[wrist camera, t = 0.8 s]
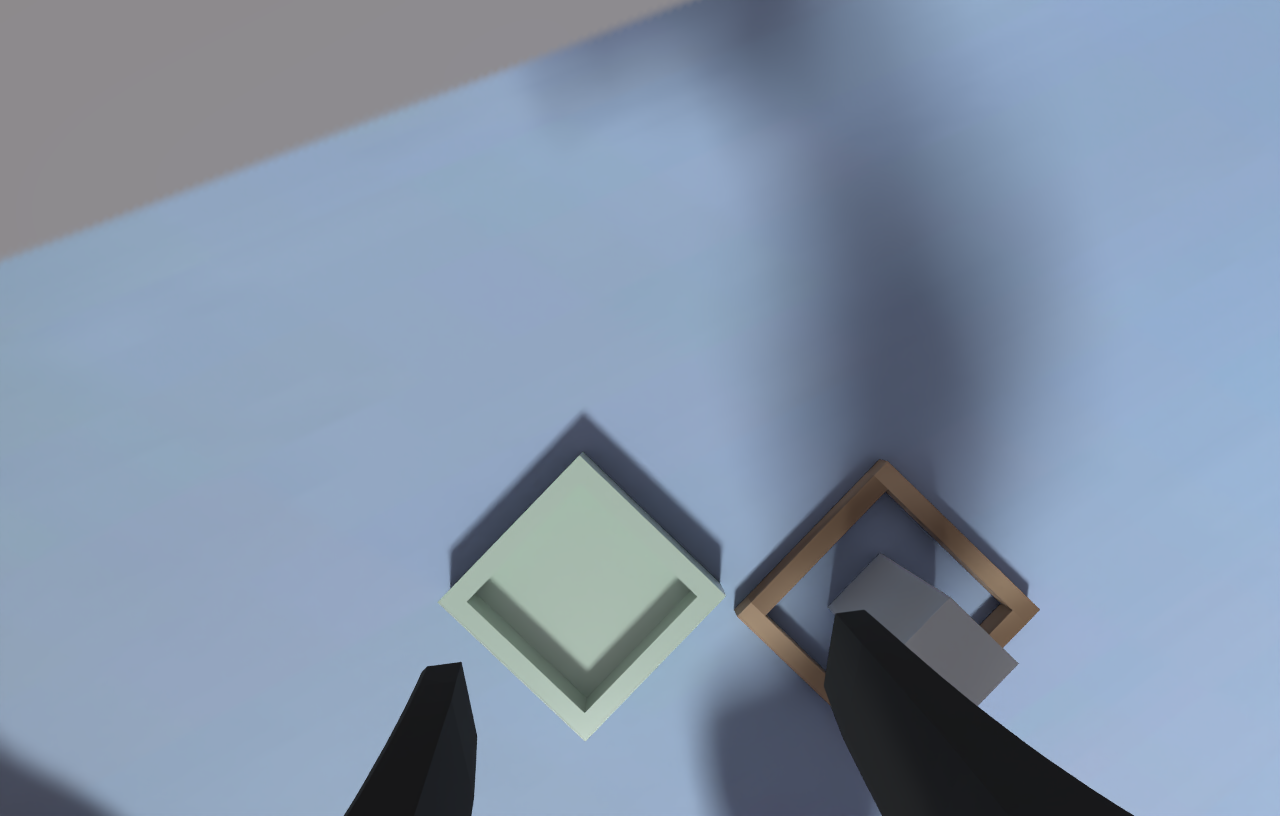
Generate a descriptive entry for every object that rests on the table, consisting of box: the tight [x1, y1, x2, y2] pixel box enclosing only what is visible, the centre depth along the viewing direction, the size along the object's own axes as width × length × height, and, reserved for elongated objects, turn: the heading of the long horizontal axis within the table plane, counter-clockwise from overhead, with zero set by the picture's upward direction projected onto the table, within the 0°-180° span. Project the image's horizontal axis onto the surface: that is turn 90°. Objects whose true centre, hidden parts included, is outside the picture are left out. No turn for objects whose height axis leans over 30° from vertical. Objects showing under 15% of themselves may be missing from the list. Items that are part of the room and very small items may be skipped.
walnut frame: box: [734, 459, 1040, 706], centre depth 31 cm, size 11×11×1 cm
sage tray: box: [438, 452, 726, 741], centre depth 31 cm, size 10×10×2 cm
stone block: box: [828, 553, 1019, 706], centre depth 28 cm, size 4×4×7 cm
